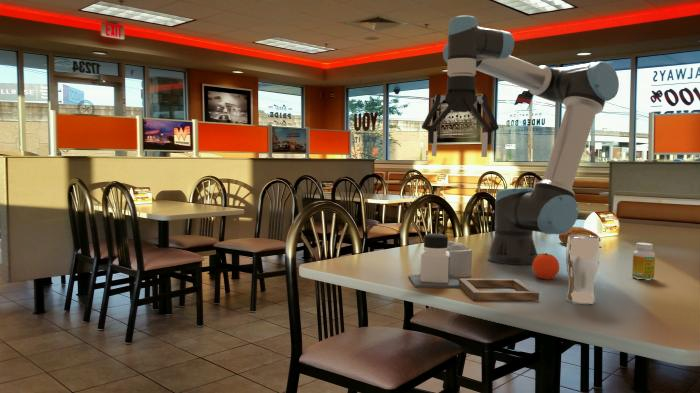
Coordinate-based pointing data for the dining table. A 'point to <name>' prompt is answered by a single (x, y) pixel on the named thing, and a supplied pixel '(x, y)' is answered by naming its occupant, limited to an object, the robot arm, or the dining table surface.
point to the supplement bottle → (643, 261)
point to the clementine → (545, 266)
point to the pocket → (521, 294)
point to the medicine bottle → (435, 259)
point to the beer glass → (582, 267)
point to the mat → (417, 283)
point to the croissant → (575, 233)
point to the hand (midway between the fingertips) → (459, 156)
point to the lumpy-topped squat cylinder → (459, 259)
